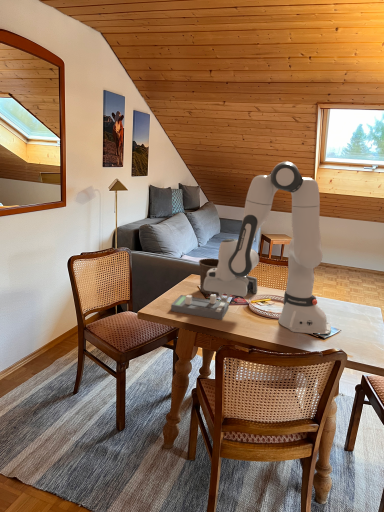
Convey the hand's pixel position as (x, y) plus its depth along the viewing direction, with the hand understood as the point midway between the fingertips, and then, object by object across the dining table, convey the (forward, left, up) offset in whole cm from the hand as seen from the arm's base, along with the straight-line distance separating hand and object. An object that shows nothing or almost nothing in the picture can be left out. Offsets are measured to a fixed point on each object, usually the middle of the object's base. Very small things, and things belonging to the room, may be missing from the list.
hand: (223, 301), depth 182 cm
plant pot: (+11, -24, -5) cm, 27 cm away
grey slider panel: (+10, +3, -5) cm, 12 cm away
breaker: (+15, +6, -1) cm, 17 cm away
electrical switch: (-7, -32, -5) cm, 33 cm away
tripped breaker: (+5, 0, -1) cm, 5 cm away
